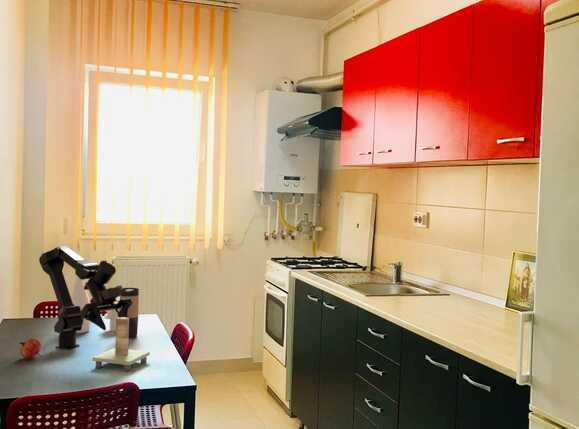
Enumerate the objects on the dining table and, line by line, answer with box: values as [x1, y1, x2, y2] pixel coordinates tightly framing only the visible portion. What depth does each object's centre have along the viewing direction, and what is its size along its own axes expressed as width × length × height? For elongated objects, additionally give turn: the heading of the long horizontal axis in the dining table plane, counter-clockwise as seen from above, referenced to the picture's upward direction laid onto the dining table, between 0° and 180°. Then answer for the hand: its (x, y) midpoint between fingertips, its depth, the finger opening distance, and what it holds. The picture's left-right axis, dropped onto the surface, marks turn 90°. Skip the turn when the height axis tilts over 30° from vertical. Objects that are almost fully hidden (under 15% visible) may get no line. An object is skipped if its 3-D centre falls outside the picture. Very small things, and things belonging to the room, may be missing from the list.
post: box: [114, 317, 130, 356], centre depth 210 cm, size 4×4×12 cm
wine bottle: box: [69, 274, 91, 335], centre depth 257 cm, size 10×10×30 cm
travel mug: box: [120, 287, 140, 340], centre depth 251 cm, size 8×8×20 cm
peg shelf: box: [92, 347, 151, 373], centre depth 210 cm, size 14×14×4 cm
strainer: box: [104, 296, 120, 332], centre depth 262 cm, size 7×7×15 cm
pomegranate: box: [19, 338, 44, 361], centre depth 214 cm, size 7×7×10 cm
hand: (116, 327), depth 212 cm, fingers open, 9 cm apart
